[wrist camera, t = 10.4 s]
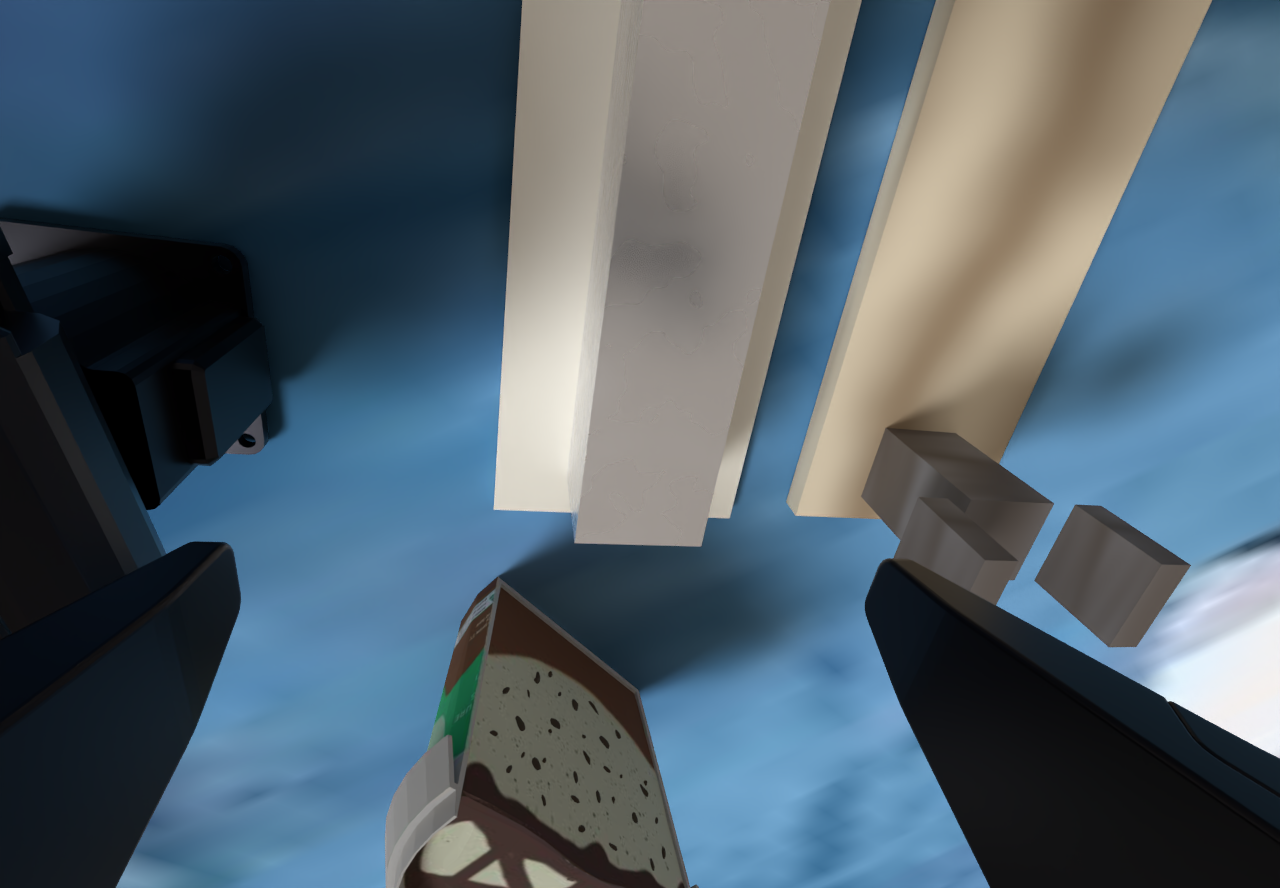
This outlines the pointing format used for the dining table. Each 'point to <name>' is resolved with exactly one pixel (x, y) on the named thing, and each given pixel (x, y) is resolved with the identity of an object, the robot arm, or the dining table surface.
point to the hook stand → (993, 295)
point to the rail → (681, 253)
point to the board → (564, 234)
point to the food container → (532, 768)
